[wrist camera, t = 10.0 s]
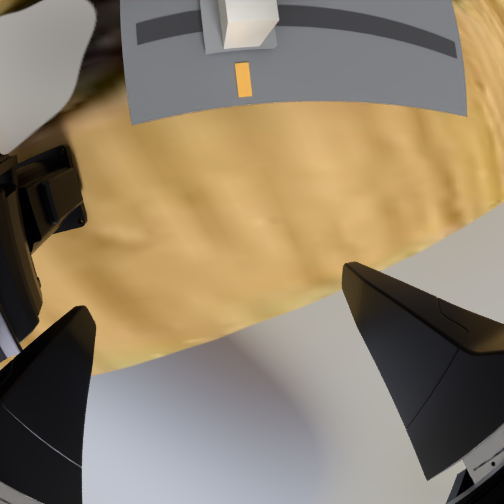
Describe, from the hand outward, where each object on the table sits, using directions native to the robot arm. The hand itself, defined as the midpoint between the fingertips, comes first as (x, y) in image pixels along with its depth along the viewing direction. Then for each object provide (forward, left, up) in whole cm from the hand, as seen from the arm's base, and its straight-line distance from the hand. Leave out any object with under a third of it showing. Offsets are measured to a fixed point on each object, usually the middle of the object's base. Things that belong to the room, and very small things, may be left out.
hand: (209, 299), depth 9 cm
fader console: (+9, +12, -12) cm, 19 cm away
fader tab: (+3, +12, -10) cm, 16 cm away
